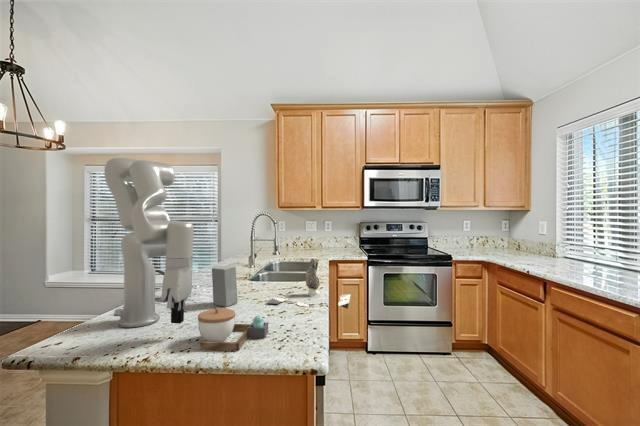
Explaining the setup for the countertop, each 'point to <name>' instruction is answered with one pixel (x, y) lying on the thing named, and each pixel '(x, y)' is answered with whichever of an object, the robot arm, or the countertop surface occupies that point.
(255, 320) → the dome
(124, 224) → the robot arm
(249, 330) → the dark grey open box
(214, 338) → the lidded jar
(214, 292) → the skincare box
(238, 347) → the walnut bay
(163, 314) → the countertop surface
